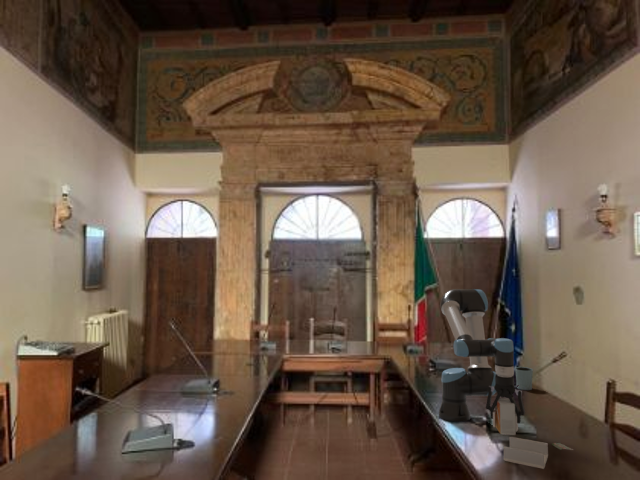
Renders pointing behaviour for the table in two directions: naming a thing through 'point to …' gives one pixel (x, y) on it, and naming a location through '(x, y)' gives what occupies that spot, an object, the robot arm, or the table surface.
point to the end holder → (526, 452)
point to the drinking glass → (524, 378)
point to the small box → (505, 417)
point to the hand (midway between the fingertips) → (505, 428)
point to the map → (561, 446)
